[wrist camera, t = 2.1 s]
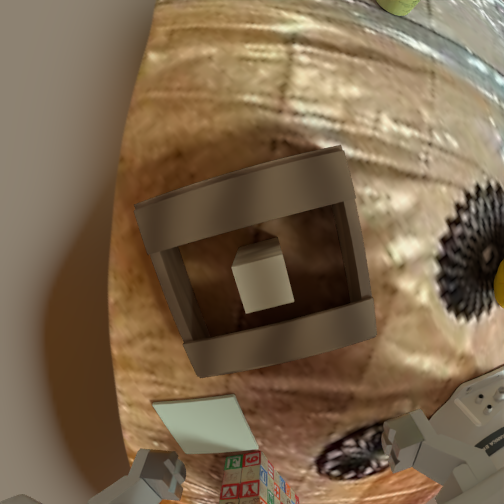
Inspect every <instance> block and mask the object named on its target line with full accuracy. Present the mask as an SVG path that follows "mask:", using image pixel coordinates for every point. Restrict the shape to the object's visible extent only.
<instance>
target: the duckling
mask: <svg viewBox="0 0 504 504" xmlns="http://www.w3.org/2000/svg"><path fill="white" fill-rule="evenodd" d="M494 294H495V299H496V301H497V302H498V304H499V305H500V306H501V307H502V308H504V259H503V260H502V262H501V263H500V265H499V268H498V271H497V274H496V276H495V279H494Z"/></svg>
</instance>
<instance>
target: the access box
mask: <svg viewBox="0 0 504 504" xmlns="http://www.w3.org/2000/svg"><path fill="white" fill-rule="evenodd" d="M355 199H356V196H355V192H354V187H353V183H352V179H351V175H350V171H349V167H348V163H347V160H346V156H345V152H344V150H342V147H341V145H339V146H334V147H329V148H324V149H320V150H315V151H311V152H306V153H302V154H298V155H294V156H290V157H286V158H282V159H278V160H274V161H270V162H266V163H262V164H259V165H255V166H251V167H248V168H244V169H241V170H237V171H234V172H230V173H227V174H223V175H220V176H217V177H214V178H210V179H207V180H204V181H201V182H198V183H195V184H192V185H188V186H185V187H182V188H179V189H177V190H174V191H171V192H168V193H165V194H162V195H159V196H156V197H154V198H151V199H148V200H145V201H143V202H140V203H137V204H135V205H134V206H135V210H134V213H135V217H136V220H137V223H138V226H139V230H140V233H141V236H142V239H143V242H144V245H145V248H146V251H147V254H148V255H149V254H150V257H151V260H152V263H153V265H154V268H155V271H156V274H157V277H158V279H159V282H160V285H161V287H162V290H163V293H164V295H165V298H166V300H167V303H168V306H169V308H170V311H171V313H172V316H173V318H174V320H175V323H176V325H177V328H178V330H179V332H180V335H181V337H182V339H183V342H184V343H183V346H184V348H185V351H186V353H187V355H188V357H189V360H190V362H191V364H192V366H193V368H194V370H195V372H196V375H197V377H200V378H205V377H211V376H218V375H224V374H230V373H236V372H242V371H247V370H252V369H257V368H262V367H267V366H272V365H276V364H281V363H285V362H290V361H294V360H298V359H302V358H306V357H310V356H314V355H318V354H321V353H325V352H329V351H332V350H336V349H339V348H343V347H346V346H349V345H353V344H356V343H359V342H362V341H365V340H368V339H371V338H374V337H376V335H377V330H376V319H375V309H374V300H373V297H372V294H371V287H370V280H369V273H368V266H367V260H366V254H365V248H364V242H363V237H362V231H361V226H360V221H359V216H358V212H357V207H356V202H355ZM327 205H332V210H333V214H334V218H335V223H336V227H337V232H338V237H339V241H340V246H341V251H342V256H343V261H344V267H345V272H346V278H347V284H348V289H349V296H350V302H351V303H349V304H346V305H343V306H339V307H336V308H332V309H329V310H325V311H321V312H318V313H314V314H310V315H307V316H303V317H299V318H295V319H291V320H287V321H283V322H279V323H275V324H271V325H266V326H262V327H258V328H253V329H249V330H244V331H240V332H235V333H230V334H225V335H221V336H216V337H210V334H209V332H208V329H207V327H206V324H205V321H204V319H203V316H202V313H201V311H200V308H199V305H198V303H197V300H196V297H195V294H194V292H193V289H192V286H191V283H190V280H189V277H188V275H187V272H186V269H185V266H184V263H183V260H182V257H181V254H180V251H179V248H178V246H180V245H183V244H187V243H190V242H194V241H197V240H201V239H204V238H208V237H211V236H215V235H219V234H222V233H226V232H229V231H233V230H236V229H240V228H244V227H247V226H251V225H255V224H258V223H262V222H266V221H270V220H273V219H277V218H281V217H285V216H289V215H292V214H296V213H300V212H304V211H308V210H312V209H316V208H319V207H323V206H327Z"/></svg>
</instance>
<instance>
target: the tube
mask: <svg viewBox="0 0 504 504" xmlns="http://www.w3.org/2000/svg"><path fill="white" fill-rule="evenodd" d="M376 1H377V3H378V4H379V5H380V6H381V7H382V8H383V9H385V10H386V11H388V12H389V13H392V14H394V15H398V16H404V15H407V14H408V13H409V12H410V11H411V10H412V9H413V8H414V7H415V6H416V5H417V3H418V2H419V1H420V0H376Z"/></svg>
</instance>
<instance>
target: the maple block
mask: <svg viewBox="0 0 504 504" xmlns="http://www.w3.org/2000/svg"><path fill="white" fill-rule="evenodd" d="M231 268H232V271H233V275H234V278H235V281H236V284H237V287H238V291H239V294H240V297H241V300H242V303H243V306H244V309H245V313H246V314H247V313H251V312H255V311H259V310H263V309H268V308H272V307H276V306H280V305H284V304H288V303H291V302H294V298H293V294H292V290H291V286H290V282H289V278H288V274H287V270H286V266H285V262H284V258H283V254H282V251H281V247H280V244H279V240H278V237H276V238H272V239H269V240H265V241H261V242H257V243H254V244H250V245H246V246H242V247H239V248H238V251H237V253H236V256H235V259H234V262H233V264H232V267H231Z"/></svg>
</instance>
